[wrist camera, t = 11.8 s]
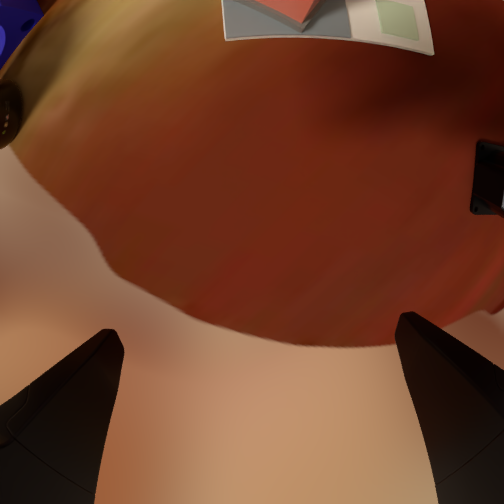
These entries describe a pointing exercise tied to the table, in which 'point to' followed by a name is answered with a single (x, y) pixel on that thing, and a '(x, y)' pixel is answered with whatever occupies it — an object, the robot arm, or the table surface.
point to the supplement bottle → (9, 111)
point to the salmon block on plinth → (287, 10)
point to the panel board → (341, 23)
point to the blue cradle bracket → (16, 24)
